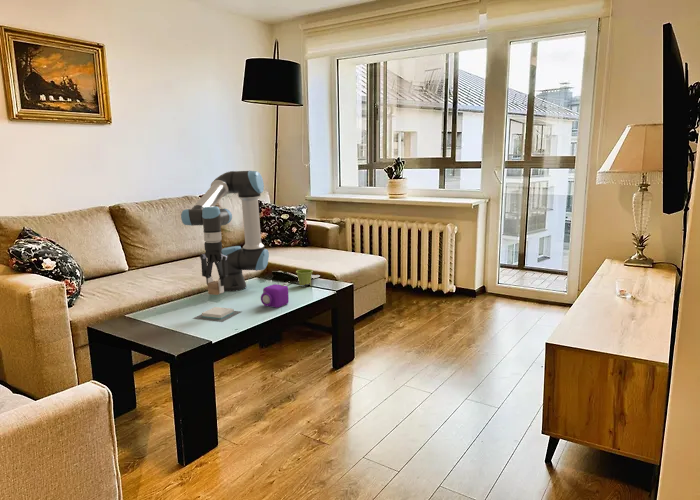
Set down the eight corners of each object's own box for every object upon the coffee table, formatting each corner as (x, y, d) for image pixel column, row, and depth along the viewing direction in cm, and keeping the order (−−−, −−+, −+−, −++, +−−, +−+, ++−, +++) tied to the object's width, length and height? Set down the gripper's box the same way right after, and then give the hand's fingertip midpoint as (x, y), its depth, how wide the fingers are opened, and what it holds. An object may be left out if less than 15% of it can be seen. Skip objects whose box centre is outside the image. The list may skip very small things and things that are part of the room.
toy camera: (257, 309, 234) (256, 288, 232) (271, 301, 247) (270, 282, 245) (277, 310, 230) (276, 290, 229) (290, 303, 243) (290, 283, 241)
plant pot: (312, 288, 272) (311, 272, 270) (295, 288, 272) (294, 273, 270) (313, 284, 281) (313, 269, 280) (297, 284, 281) (296, 269, 280)
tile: (215, 306, 230) (233, 308, 227) (215, 311, 230) (233, 312, 227) (201, 313, 221) (220, 315, 217) (202, 317, 221) (220, 319, 218)
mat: (213, 309, 234) (213, 308, 234) (242, 312, 229) (242, 311, 229) (192, 319, 220) (192, 318, 220) (222, 322, 214) (222, 322, 214)
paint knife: (294, 288, 273) (294, 284, 273) (274, 286, 280) (274, 282, 279) (322, 277, 299) (322, 273, 299) (303, 275, 306) (302, 271, 305)
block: (214, 291, 225) (214, 280, 225) (224, 292, 224) (223, 281, 223) (208, 294, 221) (207, 283, 220) (217, 295, 219) (216, 284, 218)
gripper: (190, 241, 218) (194, 292, 222) (225, 243, 212) (228, 295, 216) (201, 239, 225) (204, 288, 229) (235, 240, 219) (237, 291, 223)
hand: (216, 292), depth 222 cm, fingers closed on block, 5 cm apart
